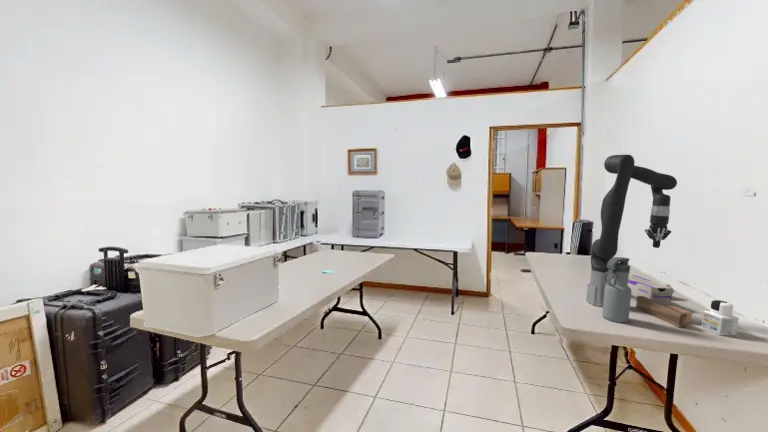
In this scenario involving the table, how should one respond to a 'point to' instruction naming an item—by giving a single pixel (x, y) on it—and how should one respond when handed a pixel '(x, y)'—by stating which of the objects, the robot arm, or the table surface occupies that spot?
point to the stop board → (662, 311)
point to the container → (720, 319)
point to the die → (667, 286)
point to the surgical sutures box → (649, 290)
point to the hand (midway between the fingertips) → (656, 247)
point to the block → (689, 314)
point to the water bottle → (617, 291)
